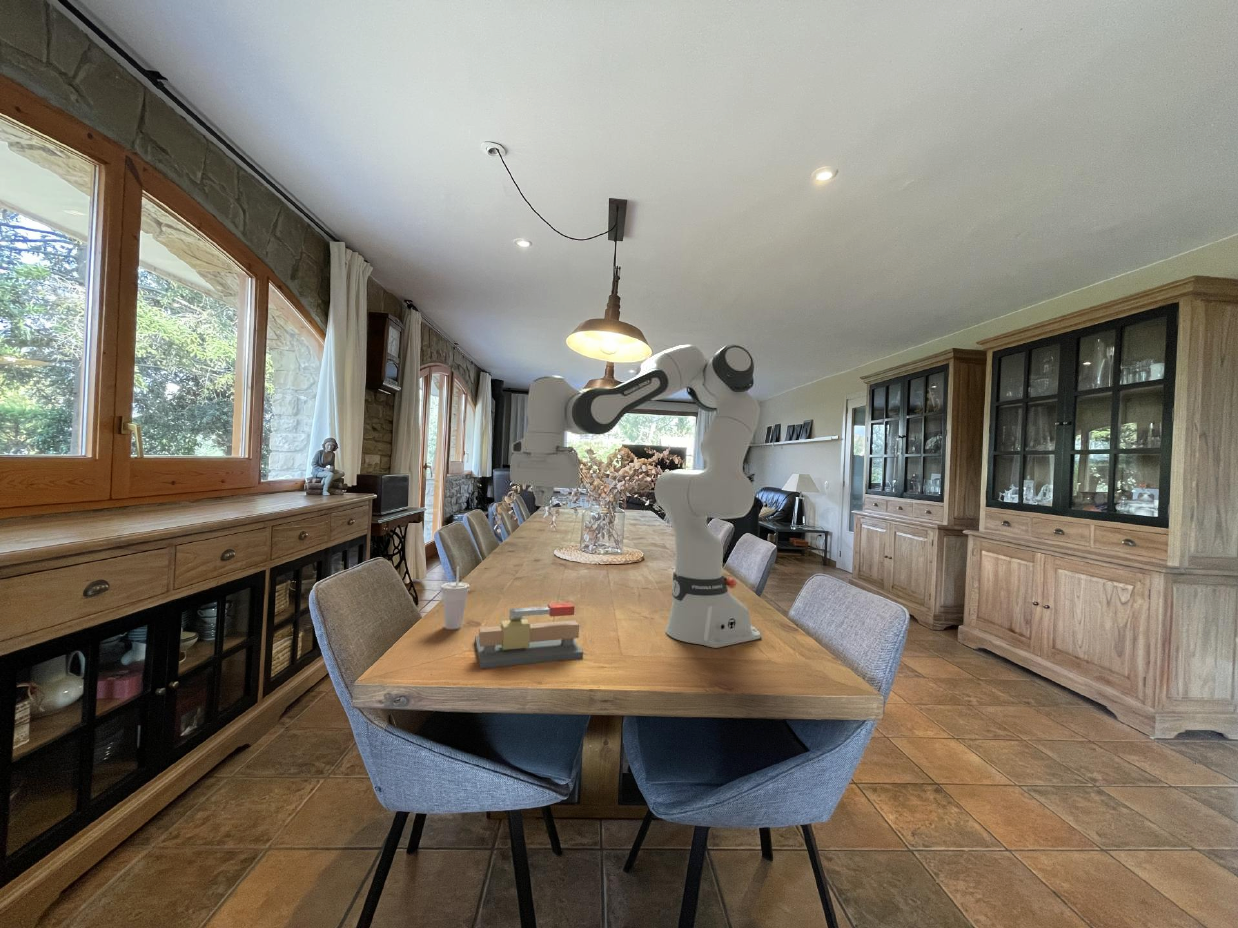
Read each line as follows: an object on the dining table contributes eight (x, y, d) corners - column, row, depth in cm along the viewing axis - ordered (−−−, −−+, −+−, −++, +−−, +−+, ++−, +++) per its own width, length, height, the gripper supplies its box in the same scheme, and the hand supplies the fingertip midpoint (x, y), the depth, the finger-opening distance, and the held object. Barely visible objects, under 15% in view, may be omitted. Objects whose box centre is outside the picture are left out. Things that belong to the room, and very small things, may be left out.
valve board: (565, 634, 113) (566, 603, 113) (582, 657, 100) (584, 623, 100) (474, 641, 105) (476, 609, 105) (480, 668, 92) (482, 631, 92)
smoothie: (458, 632, 111) (461, 570, 111) (433, 629, 112) (435, 568, 112) (472, 623, 117) (475, 565, 117) (448, 620, 118) (450, 562, 118)
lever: (510, 621, 98) (510, 610, 98) (508, 616, 100) (508, 606, 100) (574, 616, 102) (574, 606, 102) (570, 612, 105) (571, 602, 105)
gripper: (587, 447, 109) (584, 509, 109) (527, 446, 122) (524, 501, 122) (567, 446, 104) (564, 511, 104) (506, 444, 117) (503, 502, 117)
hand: (542, 506), depth 113 cm, fingers closed
